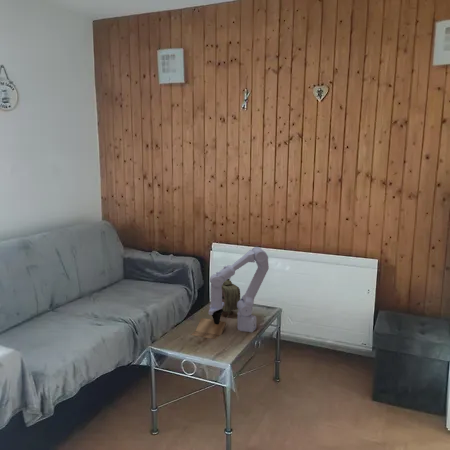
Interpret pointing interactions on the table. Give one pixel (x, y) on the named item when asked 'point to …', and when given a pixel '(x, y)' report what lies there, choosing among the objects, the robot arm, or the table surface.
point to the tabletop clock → (230, 296)
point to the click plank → (210, 326)
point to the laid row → (205, 335)
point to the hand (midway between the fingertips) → (216, 323)
